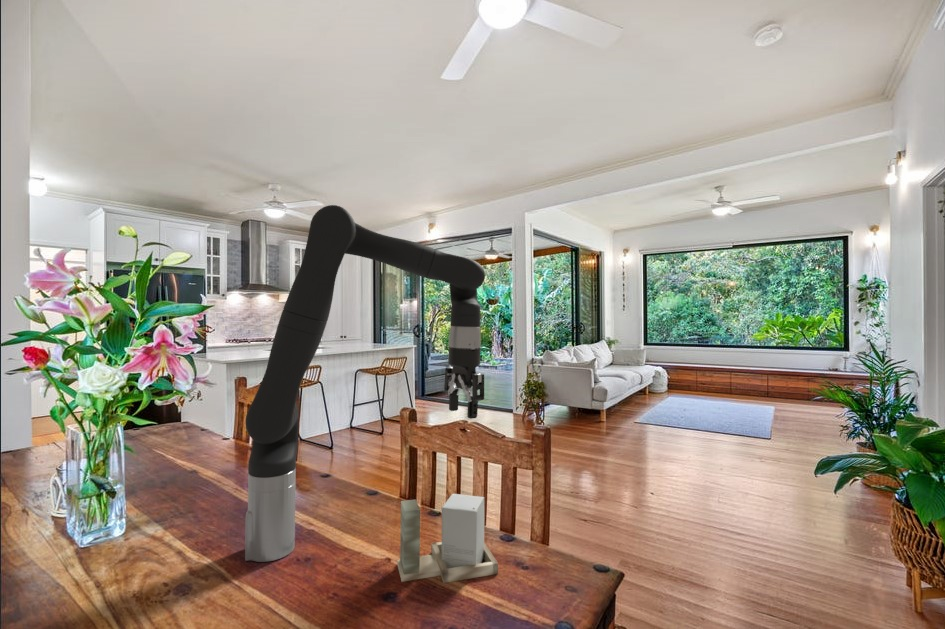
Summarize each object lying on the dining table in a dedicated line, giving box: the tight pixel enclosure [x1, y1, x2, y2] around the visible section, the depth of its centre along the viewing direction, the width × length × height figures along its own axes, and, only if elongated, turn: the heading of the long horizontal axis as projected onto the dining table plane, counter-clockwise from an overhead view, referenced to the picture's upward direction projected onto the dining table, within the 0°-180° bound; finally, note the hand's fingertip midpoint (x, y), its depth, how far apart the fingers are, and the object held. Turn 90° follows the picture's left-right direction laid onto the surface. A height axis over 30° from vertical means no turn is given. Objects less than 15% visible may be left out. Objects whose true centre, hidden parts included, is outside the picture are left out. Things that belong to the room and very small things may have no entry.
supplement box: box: [441, 493, 485, 569], centre depth 90 cm, size 7×7×13 cm
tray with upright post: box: [396, 499, 499, 584], centre depth 89 cm, size 18×11×13 cm, turn 107°
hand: (462, 414), depth 105 cm, fingers open, 8 cm apart
